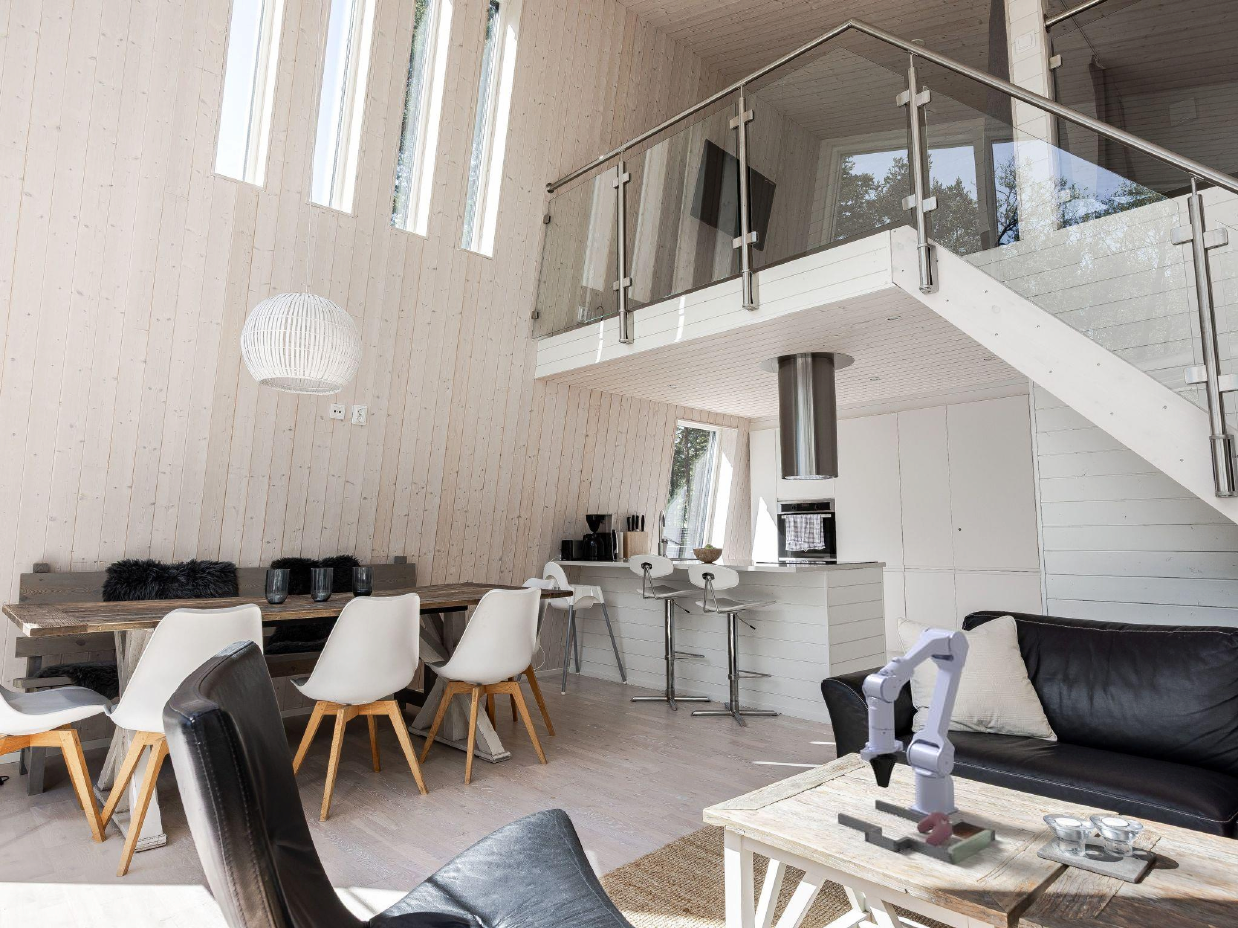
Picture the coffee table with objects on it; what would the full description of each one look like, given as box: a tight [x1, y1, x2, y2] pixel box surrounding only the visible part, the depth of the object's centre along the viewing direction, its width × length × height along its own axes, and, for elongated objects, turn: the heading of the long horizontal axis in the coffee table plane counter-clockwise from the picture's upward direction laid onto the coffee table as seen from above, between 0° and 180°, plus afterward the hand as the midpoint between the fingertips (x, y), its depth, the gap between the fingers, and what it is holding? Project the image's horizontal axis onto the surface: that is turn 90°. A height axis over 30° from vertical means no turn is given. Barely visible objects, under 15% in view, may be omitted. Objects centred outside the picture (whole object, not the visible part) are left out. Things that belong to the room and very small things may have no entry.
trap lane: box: [837, 799, 996, 865], centre depth 172 cm, size 24×28×3 cm
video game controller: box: [916, 810, 953, 847], centre depth 169 cm, size 10×5×7 cm, turn 170°
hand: (882, 786), depth 178 cm, fingers closed
